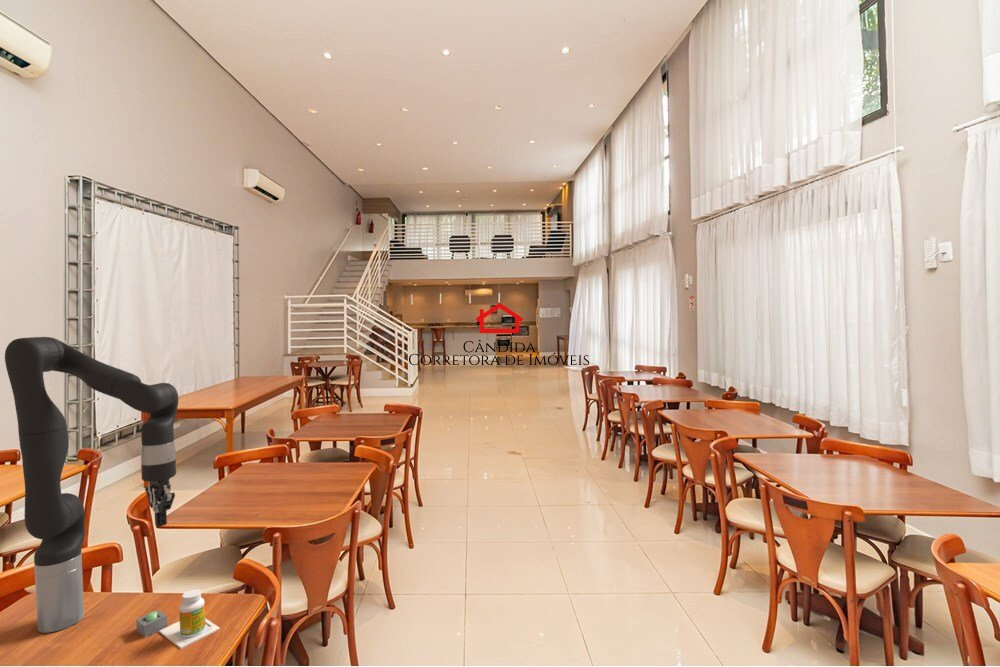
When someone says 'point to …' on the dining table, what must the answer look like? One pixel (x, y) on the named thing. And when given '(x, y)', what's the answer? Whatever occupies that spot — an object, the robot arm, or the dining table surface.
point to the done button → (151, 616)
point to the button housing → (151, 624)
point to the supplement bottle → (192, 614)
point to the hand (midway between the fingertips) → (160, 525)
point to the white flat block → (175, 637)
